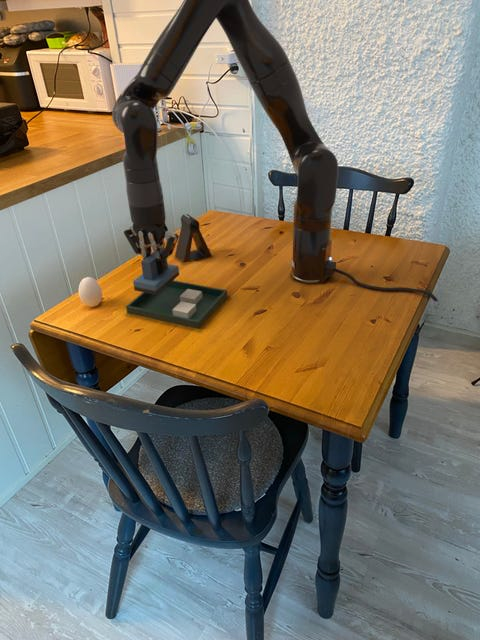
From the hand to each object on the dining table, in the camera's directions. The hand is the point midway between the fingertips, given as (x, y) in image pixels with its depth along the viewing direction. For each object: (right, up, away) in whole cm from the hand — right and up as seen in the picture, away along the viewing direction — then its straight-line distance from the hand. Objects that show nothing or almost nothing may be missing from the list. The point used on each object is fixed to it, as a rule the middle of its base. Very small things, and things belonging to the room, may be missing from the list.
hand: (156, 271), depth 110 cm
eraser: (0, -3, +2) cm, 3 cm away
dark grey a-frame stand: (+6, +7, +26) cm, 28 cm away
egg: (-16, -8, +5) cm, 19 cm away
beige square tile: (+8, -7, +4) cm, 11 cm away
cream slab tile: (+7, -10, -1) cm, 12 cm away
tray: (+5, -8, +3) cm, 10 cm away
